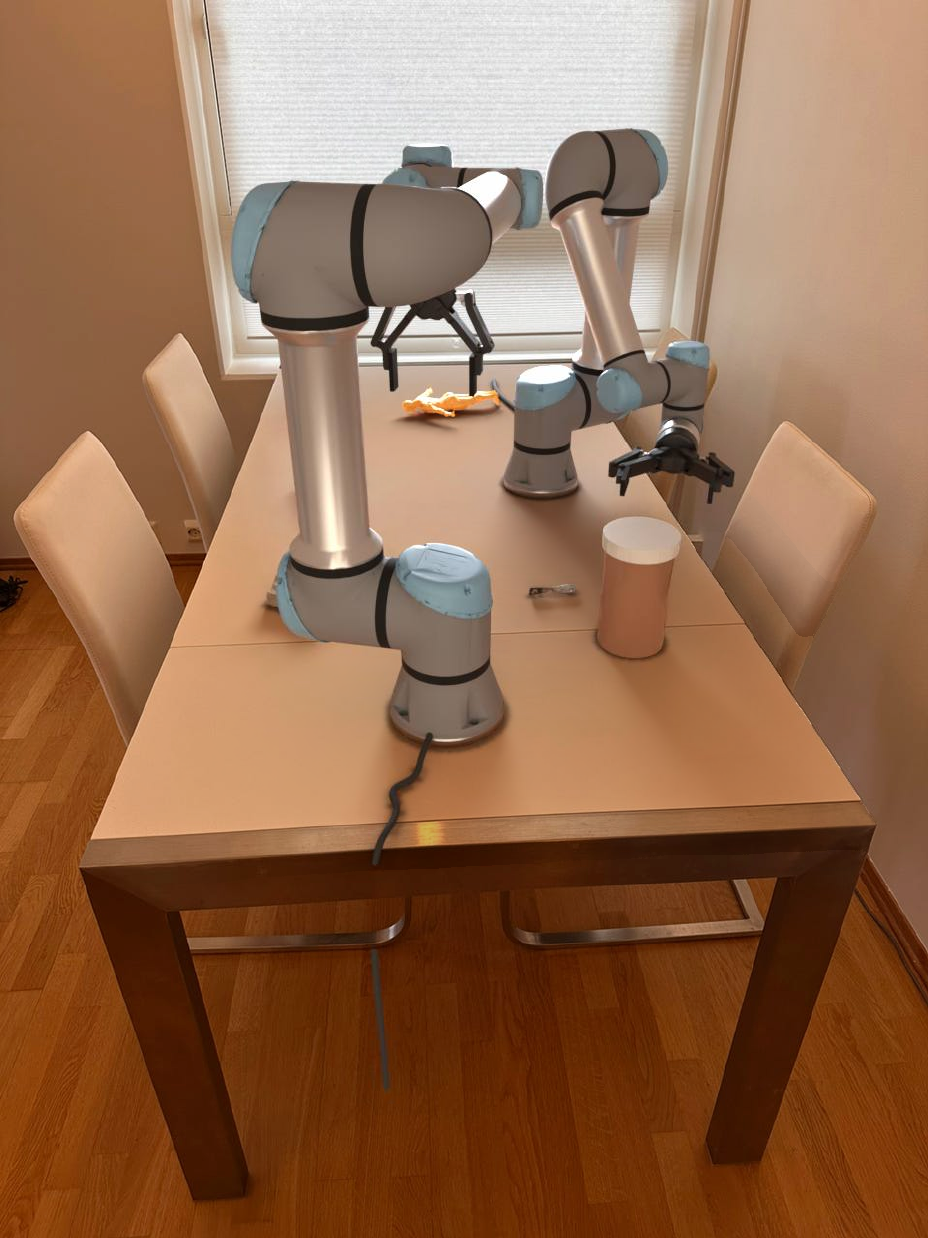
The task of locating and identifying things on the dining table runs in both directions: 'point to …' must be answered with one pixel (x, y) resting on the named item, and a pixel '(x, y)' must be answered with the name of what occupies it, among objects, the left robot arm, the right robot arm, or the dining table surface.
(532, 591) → the putty knife
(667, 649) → the dining table surface
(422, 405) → the human figure
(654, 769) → the dining table surface
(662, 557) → the lid
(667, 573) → the jar
